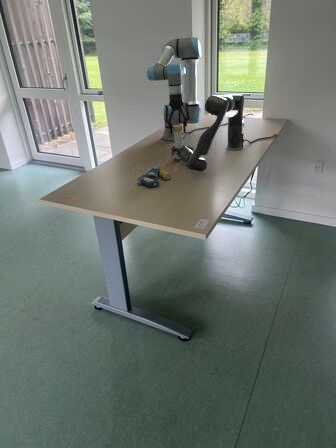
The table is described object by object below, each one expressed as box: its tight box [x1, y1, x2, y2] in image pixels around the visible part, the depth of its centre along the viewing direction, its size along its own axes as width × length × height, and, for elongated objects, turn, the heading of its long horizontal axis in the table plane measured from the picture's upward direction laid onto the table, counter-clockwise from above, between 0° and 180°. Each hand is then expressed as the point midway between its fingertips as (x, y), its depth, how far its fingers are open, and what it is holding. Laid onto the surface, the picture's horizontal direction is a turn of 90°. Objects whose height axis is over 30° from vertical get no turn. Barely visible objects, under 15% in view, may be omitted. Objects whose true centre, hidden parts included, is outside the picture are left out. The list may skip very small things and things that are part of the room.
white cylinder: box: [174, 129, 184, 160], centre depth 206 cm, size 5×5×20 cm
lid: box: [173, 124, 183, 131], centre depth 202 cm, size 5×5×2 cm
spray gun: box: [137, 166, 171, 188], centre depth 184 cm, size 21×4×15 cm
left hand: (178, 132), depth 203 cm, fingers open, 7 cm apart
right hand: (177, 146), depth 210 cm, fingers closed on white cylinder, 5 cm apart
